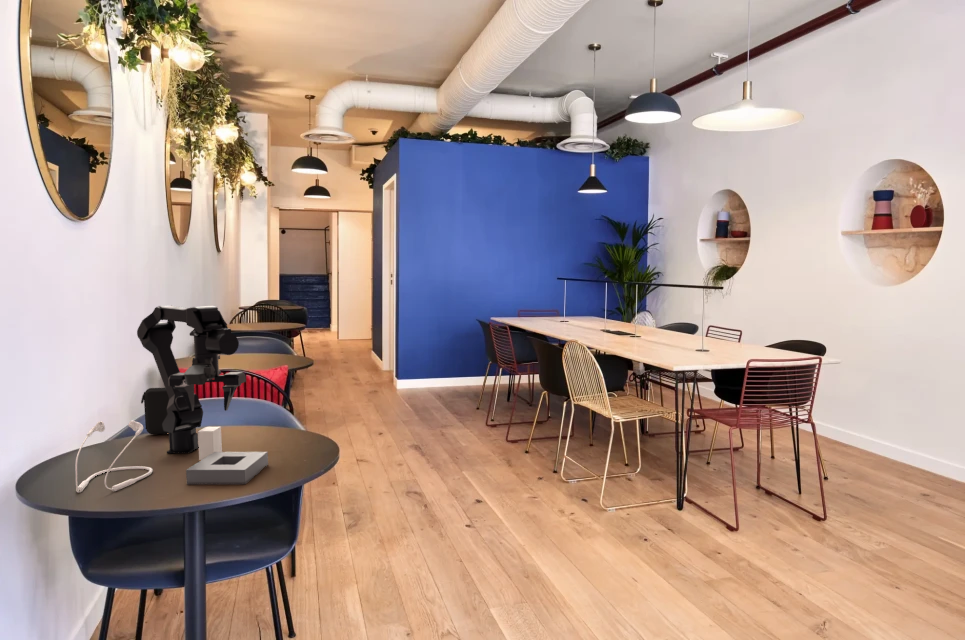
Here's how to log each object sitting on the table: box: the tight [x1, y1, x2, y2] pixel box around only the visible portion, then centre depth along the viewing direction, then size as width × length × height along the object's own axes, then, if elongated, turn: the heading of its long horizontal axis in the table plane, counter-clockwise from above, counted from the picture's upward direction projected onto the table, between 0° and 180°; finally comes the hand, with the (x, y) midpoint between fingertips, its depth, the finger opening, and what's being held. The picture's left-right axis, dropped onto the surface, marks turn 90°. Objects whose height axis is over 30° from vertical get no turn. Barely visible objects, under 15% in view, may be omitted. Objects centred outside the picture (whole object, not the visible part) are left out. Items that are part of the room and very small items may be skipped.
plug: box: [197, 426, 223, 461], centre depth 172 cm, size 4×6×8 cm, turn 179°
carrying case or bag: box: [140, 387, 169, 435], centre depth 197 cm, size 11×3×15 cm, turn 96°
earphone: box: [74, 419, 154, 493], centre depth 154 cm, size 14×17×18 cm
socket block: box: [185, 451, 269, 485], centre depth 157 cm, size 14×15×4 cm
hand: (209, 410), depth 171 cm, fingers open, 9 cm apart
